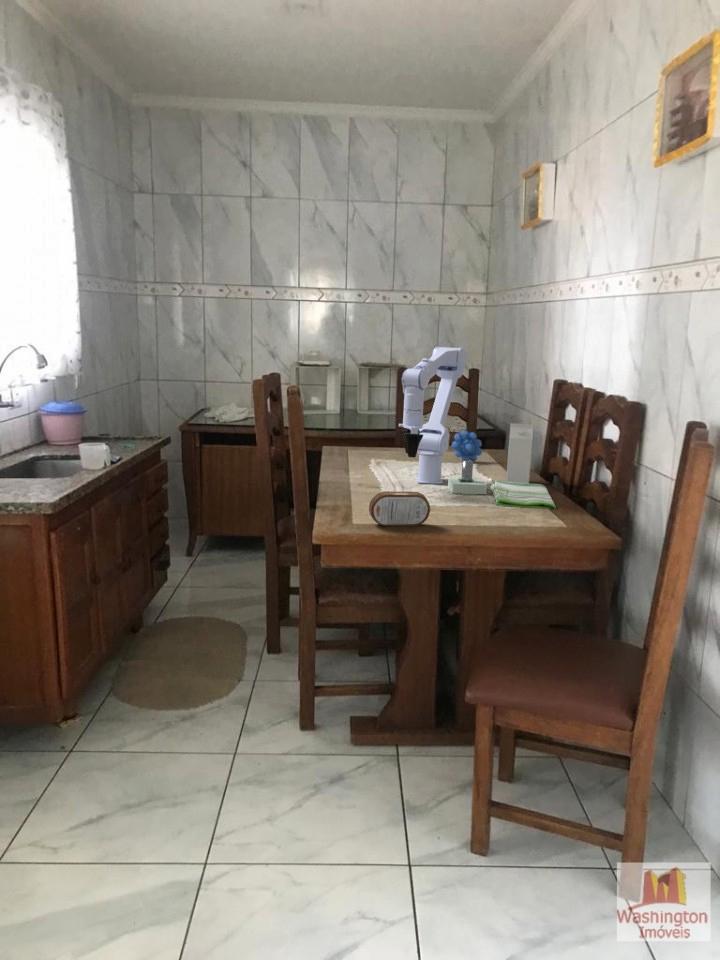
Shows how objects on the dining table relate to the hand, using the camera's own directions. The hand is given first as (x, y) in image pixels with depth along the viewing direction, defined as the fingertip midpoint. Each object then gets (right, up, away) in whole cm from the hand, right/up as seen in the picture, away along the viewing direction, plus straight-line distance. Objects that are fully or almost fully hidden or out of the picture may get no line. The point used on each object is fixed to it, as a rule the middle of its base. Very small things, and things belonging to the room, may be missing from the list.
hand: (410, 455), depth 218 cm
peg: (+17, -11, +3) cm, 20 cm away
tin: (-5, -19, -38) cm, 43 cm away
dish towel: (+32, -14, -4) cm, 35 cm away
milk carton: (+36, -8, +18) cm, 41 cm away
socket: (+17, -11, +3) cm, 21 cm away
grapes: (+24, -1, +50) cm, 56 cm away
